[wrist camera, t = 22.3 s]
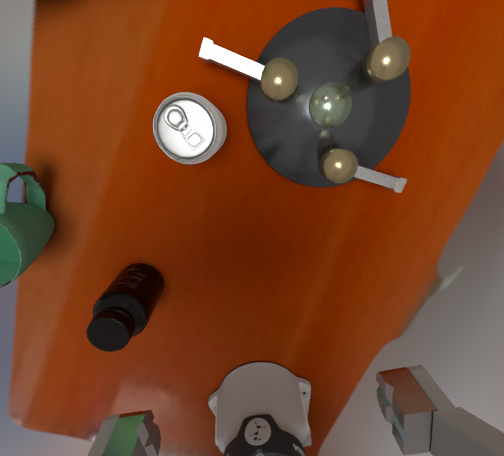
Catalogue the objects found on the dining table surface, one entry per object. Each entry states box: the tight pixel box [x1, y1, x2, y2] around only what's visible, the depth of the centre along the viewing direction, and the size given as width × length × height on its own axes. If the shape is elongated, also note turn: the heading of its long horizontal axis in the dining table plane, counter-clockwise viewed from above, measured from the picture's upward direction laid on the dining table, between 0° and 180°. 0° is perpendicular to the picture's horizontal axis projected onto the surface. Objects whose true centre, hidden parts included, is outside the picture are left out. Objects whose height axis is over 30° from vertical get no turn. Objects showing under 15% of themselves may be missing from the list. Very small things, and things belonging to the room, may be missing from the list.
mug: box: [0, 163, 55, 288], centre depth 34 cm, size 15×10×10 cm
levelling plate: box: [247, 7, 410, 187], centre depth 34 cm, size 20×20×3 cm
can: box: [153, 92, 227, 164], centre depth 30 cm, size 6×6×12 cm
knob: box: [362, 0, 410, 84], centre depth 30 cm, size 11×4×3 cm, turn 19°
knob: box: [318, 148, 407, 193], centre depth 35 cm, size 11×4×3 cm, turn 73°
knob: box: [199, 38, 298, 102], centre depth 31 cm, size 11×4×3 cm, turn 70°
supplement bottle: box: [87, 264, 163, 352], centre depth 37 cm, size 7×7×12 cm
